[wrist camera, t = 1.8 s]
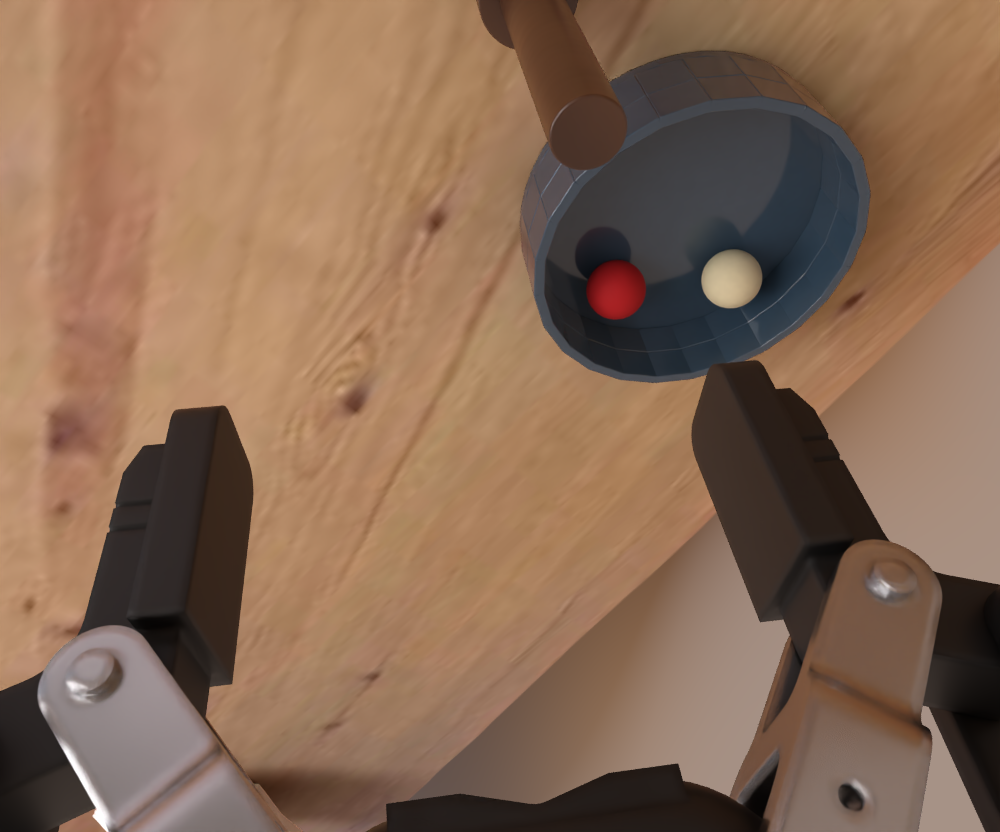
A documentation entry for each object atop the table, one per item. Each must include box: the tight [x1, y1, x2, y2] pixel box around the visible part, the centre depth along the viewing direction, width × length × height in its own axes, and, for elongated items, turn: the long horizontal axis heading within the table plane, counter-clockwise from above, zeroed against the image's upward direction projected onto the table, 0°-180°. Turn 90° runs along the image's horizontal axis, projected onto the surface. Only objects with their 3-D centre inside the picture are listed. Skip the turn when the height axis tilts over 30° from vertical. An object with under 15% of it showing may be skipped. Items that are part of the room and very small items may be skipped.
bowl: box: [520, 51, 871, 383], centre depth 36 cm, size 15×15×4 cm
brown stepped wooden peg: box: [476, 0, 627, 170], centre depth 23 cm, size 3×3×14 cm
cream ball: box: [701, 249, 762, 308], centre depth 38 cm, size 3×3×3 cm
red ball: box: [586, 260, 646, 320], centre depth 38 cm, size 3×3×3 cm
